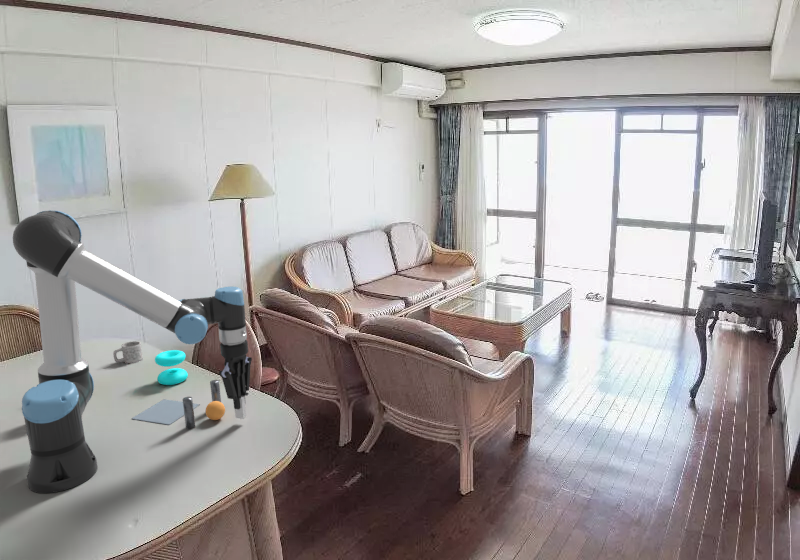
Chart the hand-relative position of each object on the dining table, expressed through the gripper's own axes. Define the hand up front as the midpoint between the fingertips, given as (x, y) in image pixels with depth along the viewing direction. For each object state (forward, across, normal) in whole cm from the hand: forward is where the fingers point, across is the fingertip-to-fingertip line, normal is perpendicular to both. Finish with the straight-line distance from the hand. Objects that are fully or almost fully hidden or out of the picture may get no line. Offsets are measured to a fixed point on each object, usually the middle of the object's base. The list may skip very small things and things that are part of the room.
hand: (240, 417), depth 169 cm
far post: (+2, +6, +13) cm, 15 cm away
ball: (-1, 0, +9) cm, 9 cm away
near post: (+2, -6, +13) cm, 15 cm away
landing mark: (+2, 0, +27) cm, 27 cm away
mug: (+2, +32, +72) cm, 79 cm away
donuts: (+2, +21, +42) cm, 47 cm away
